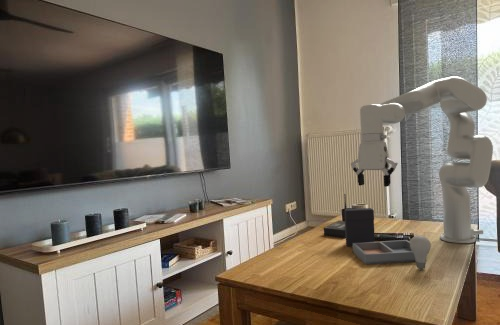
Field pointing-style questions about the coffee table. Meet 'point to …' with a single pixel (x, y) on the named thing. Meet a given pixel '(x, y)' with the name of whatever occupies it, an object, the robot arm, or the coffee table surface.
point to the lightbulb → (420, 250)
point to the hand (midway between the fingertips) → (373, 185)
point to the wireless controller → (336, 228)
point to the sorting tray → (384, 252)
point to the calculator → (359, 226)
